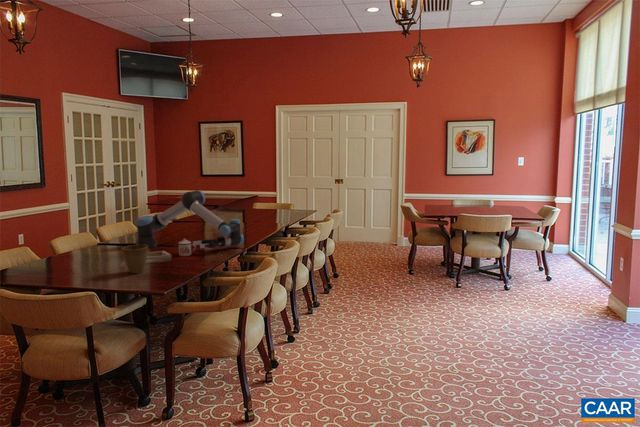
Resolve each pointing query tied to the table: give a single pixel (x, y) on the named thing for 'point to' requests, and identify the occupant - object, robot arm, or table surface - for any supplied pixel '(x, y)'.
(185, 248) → the teacup with lid
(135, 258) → the plant pot
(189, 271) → the table surface
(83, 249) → the table surface
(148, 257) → the square tray
